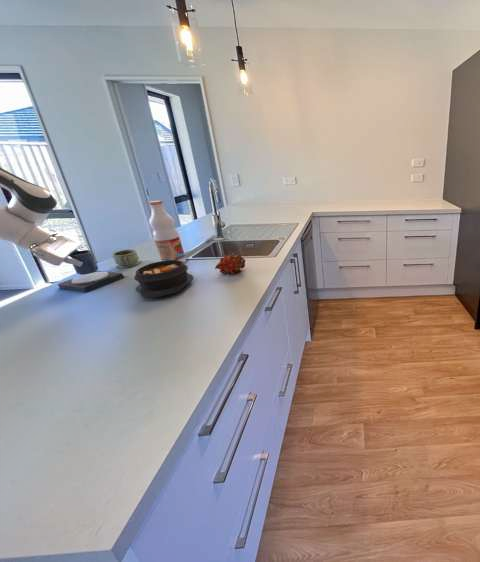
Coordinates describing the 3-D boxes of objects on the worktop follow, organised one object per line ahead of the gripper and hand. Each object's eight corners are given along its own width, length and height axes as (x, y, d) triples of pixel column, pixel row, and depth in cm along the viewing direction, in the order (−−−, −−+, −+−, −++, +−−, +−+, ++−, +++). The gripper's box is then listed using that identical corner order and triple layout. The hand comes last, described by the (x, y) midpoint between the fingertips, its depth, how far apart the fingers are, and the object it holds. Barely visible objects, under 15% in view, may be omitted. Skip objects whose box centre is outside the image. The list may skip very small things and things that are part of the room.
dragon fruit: (250, 273, 129) (221, 283, 124) (243, 258, 132) (215, 267, 127) (247, 262, 122) (216, 272, 117) (240, 246, 125) (209, 256, 120)
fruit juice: (163, 262, 140) (142, 201, 128) (186, 258, 144) (168, 198, 133) (162, 268, 132) (140, 204, 121) (186, 263, 137) (168, 201, 125)
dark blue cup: (73, 274, 115) (63, 254, 112) (91, 268, 121) (82, 249, 117) (85, 276, 113) (75, 256, 110) (102, 269, 119) (94, 250, 116)
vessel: (117, 263, 139) (112, 250, 136) (140, 259, 144) (135, 246, 141) (116, 271, 130) (110, 257, 128) (141, 266, 135) (136, 253, 132)
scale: (60, 289, 115) (56, 282, 113) (99, 275, 127) (96, 268, 126) (86, 292, 111) (83, 286, 110) (124, 278, 123) (121, 271, 122)
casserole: (193, 295, 107) (186, 273, 104) (130, 307, 100) (120, 284, 97) (196, 271, 128) (191, 253, 124) (144, 280, 121) (136, 260, 117)
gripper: (31, 241, 99) (81, 263, 107) (55, 227, 115) (97, 247, 124) (19, 256, 99) (71, 277, 107) (45, 240, 115) (88, 259, 124)
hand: (85, 261), depth 115 cm, fingers closed on dark blue cup, 6 cm apart
